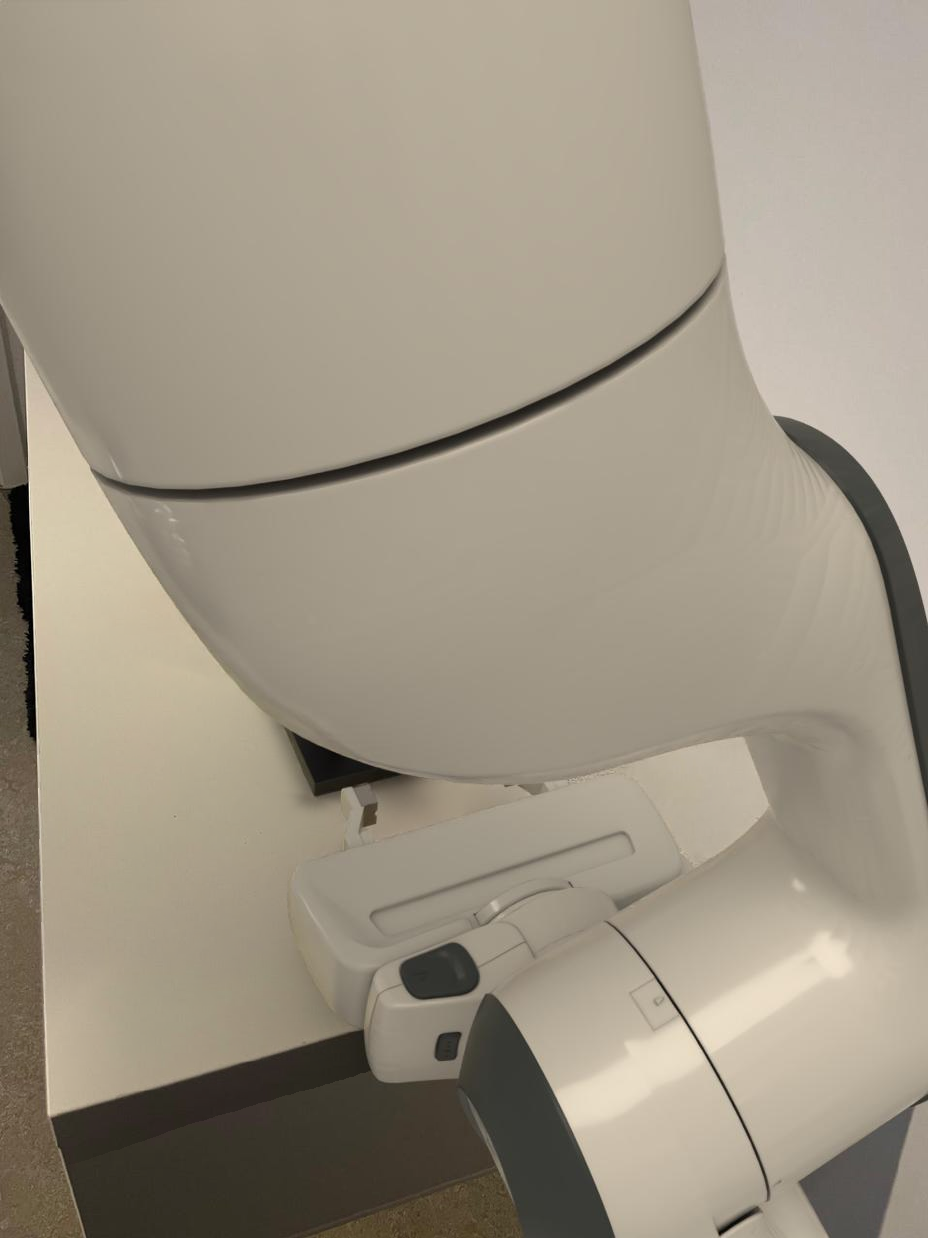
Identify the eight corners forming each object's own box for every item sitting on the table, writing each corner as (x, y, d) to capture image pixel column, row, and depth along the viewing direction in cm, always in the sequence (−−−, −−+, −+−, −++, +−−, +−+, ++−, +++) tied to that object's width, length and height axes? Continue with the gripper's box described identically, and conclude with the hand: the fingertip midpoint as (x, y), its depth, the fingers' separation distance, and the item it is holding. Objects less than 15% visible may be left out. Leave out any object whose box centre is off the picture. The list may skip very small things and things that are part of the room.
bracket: (439, 764, 62) (463, 603, 54) (314, 797, 59) (319, 629, 51) (382, 667, 70) (395, 513, 62) (268, 690, 66) (266, 530, 58)
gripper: (743, 871, 44) (594, 693, 54) (348, 1018, 36) (255, 776, 46) (708, 947, 48) (575, 768, 58) (342, 1095, 40) (258, 857, 49)
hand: (431, 772), depth 51 cm, fingers open, 8 cm apart
